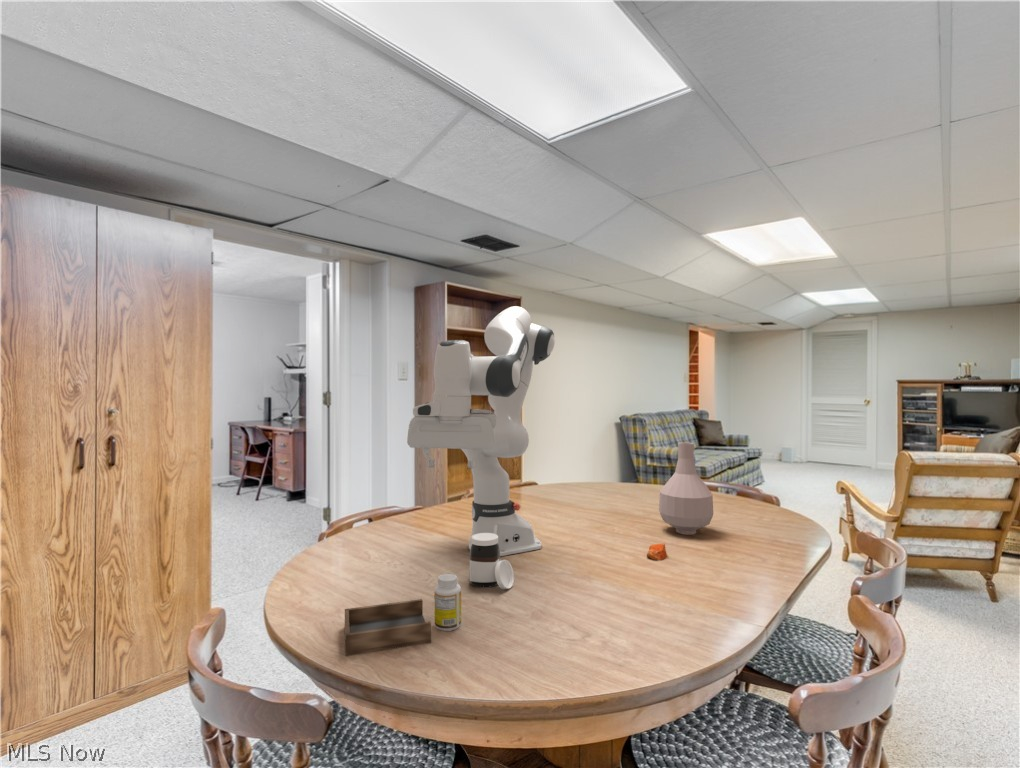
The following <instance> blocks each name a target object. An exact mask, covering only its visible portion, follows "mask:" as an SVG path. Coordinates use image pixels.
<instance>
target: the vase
mask: <svg viewBox="0 0 1020 768" xmlns="http://www.w3.org/2000/svg"><path fill="white" fill-rule="evenodd" d="M677 443H678V445H677V450H678V451H677V452H678V453H677V455H678V456H677V462H676V466H675V472H673V474H672V476H671V477H670V478H669V479H668V480H667V481H666V483H665V484H664V486H663V487H662V488H661V489H660V491H659V506H658V512H659V513H660V517H661V519H662V521H664V523H666V524H668V525H670V527H673V528H675V532H676V533H677V534H681V535H687V536H689V535H696V534H697V530H699V529H701V528H704V527H707V526H708V525H710V524H711V521H712V519H713V516H714V501H713V500H714V498H713V492H712V491H711V490H710V488H709V487H708V485H706V483H705V482H704V480H703V479H702V478H701V477H700V475H699V474H698V473H697V468H696V463H695V458H694V455H695V454H694V453H695V452H694V444H695V443H694V442H685V441H684V442H677Z"/></svg>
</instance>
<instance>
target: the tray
mask: <svg viewBox="0 0 1020 768" xmlns="http://www.w3.org/2000/svg"><path fill="white" fill-rule="evenodd" d="M423 610H424V609H423V598H420V599H410V600H404V601H397V602H387V603H381V604H374V605H367V606H358V607H352V608H351V607H350V608H344V655H345V657H349V656H354V655H355V656H357V655H363V654H368V653H375V652H381V651H387V650H393V649H394V650H395V649H399V648H406V647H411V646H413V647H414V646H420V645H424V644H431V643H432V622H431V621H425V617H424V614H423V613H424V612H423Z"/></svg>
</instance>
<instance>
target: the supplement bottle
mask: <svg viewBox="0 0 1020 768" xmlns="http://www.w3.org/2000/svg"><path fill="white" fill-rule="evenodd" d="M433 598H434V602H433V603H434V626H435V628H436V629H437V630H440V631H444V632H449V631H451V632H452V631H455V630H457V629H458V628H459V627H460V626H461V624H462V586H461V585H460V584H459V583H458V576H457V575H456V574H454V573H444V574H441V575H439V576H438V577H437V584H436V586H435V587H434V597H433Z"/></svg>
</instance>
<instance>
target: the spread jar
mask: <svg viewBox="0 0 1020 768" xmlns="http://www.w3.org/2000/svg"><path fill="white" fill-rule="evenodd" d="M469 582H470V584H471V585H472V586H474V587H477V588H492V587H495V586H497V585H498V587H499V588H500V589H501V590H507V589H511V588H512V587H513V586H514V583H515V572H514V569H513V566H512V564H511V562H510V561H509V560H507V559H502V560H501V556H500V548H499V545H498V535H496V534H493V533H478V534H474V535H473V536H472V545H471V548H470V549H469Z"/></svg>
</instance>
